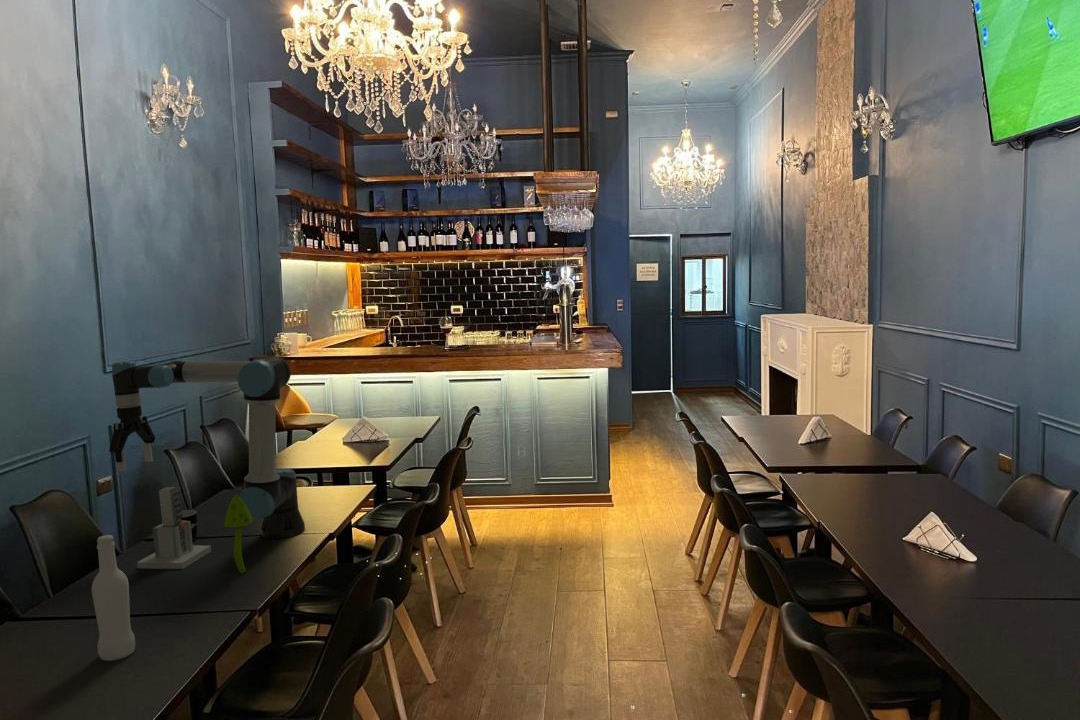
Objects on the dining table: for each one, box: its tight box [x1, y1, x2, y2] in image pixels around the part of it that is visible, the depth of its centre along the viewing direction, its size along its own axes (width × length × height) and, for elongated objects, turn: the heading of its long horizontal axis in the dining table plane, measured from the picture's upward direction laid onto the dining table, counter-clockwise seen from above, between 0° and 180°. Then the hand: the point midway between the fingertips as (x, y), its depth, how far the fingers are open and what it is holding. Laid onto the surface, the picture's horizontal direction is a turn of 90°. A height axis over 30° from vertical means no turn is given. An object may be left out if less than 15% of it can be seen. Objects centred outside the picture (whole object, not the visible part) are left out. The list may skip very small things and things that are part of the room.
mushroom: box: [223, 494, 254, 574], centre depth 241 cm, size 8×8×25 cm
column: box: [158, 486, 185, 552], centre depth 255 cm, size 5×4×22 cm
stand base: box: [136, 521, 212, 570], centre depth 256 cm, size 16×16×13 cm
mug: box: [180, 509, 198, 543], centre depth 276 cm, size 12×9×10 cm
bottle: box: [91, 534, 136, 662], centre depth 189 cm, size 8×8×30 cm
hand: (135, 466), depth 269 cm, fingers open, 13 cm apart
